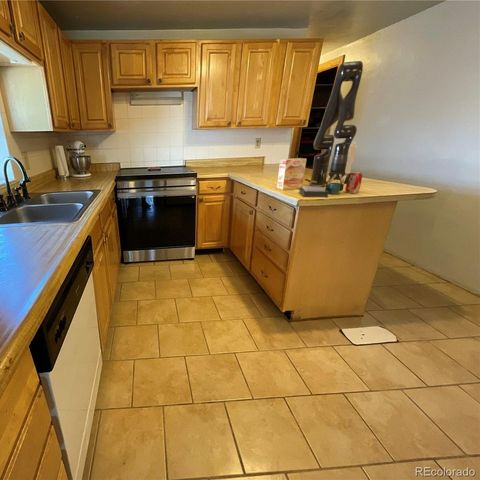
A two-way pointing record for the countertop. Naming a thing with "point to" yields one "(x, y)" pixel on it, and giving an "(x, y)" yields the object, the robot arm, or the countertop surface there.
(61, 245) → the countertop surface
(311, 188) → the scale pan
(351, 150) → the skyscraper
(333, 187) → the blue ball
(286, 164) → the coffeecake box
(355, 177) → the soda can
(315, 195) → the scale
